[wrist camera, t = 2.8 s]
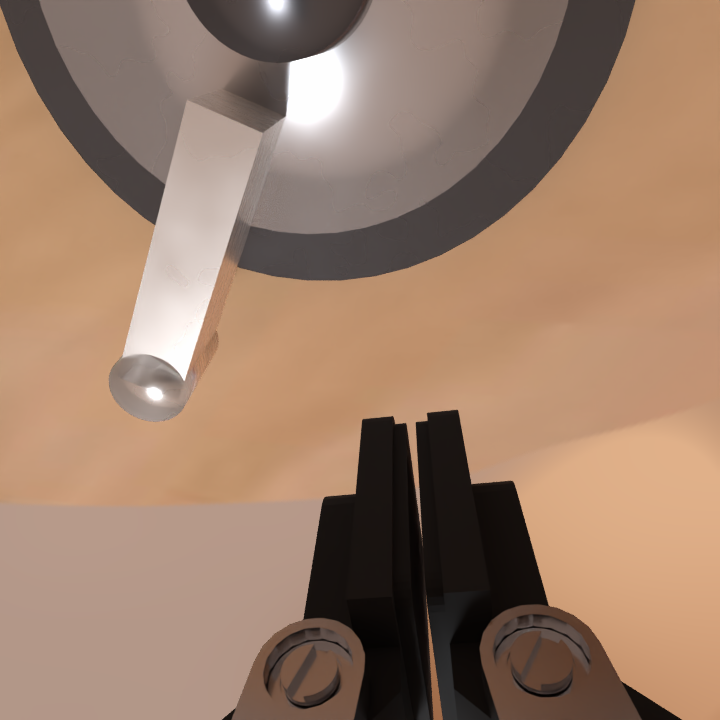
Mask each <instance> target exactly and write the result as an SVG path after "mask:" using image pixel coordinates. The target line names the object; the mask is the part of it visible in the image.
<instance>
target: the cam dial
mask: <svg viewBox="0 0 720 720" xmlns="http://www.w3.org/2000/svg"><path fill="white" fill-rule="evenodd" d="M39 1H40V5H41V8H42V11H43V14H44V16H45V19H46V21H47V24H48V27H49V29H50V32H51V34H52V37H53V40H54V42H55V45H56V47H57V49H58V51H59V53H60V55H61V57H62V59H63V61H64V63H65V65H66V67H67V69H68V71H69V73H70V75H71V77H72V79H73V81H74V82H75V84H76V85H77V87H78V88H79V90H80V91H81V93H82V95H83V96H84V98H85V99H86V101H87V102H88V104H89V106H90V107H91V109H92V110H93V112H94V113H95V114H96V115H97V117H98V118H99V119H100V121H101V122H102V123H103V124H104V126H105V127H106V128H107V129H108V131H109V132H110V133H111V134H112V136H113V137H114V138H115V139H116V140H117V141H118V142H119V143H120V144H121V145H122V146H123V147H124V148H125V149H126V150H127V151H128V153H129V154H130V155H131V156H132V157H133V158H134V159H135V160H136V161H137V162H138V163H139V164H140V165H142V166H143V167H144V168H145V169H147V170H148V171H149V172H150V173H152V174H153V175H154V176H155V177H157V178H158V179H159V180H160V181H161V182H163V183H164V184H165V189H164V193H163V197H162V201H161V205H160V209H159V213H158V217H157V221H156V225H155V229H154V233H153V237H152V241H151V245H150V249H149V253H148V257H147V261H146V265H145V269H144V273H143V277H142V281H141V285H140V289H139V293H138V297H137V301H136V305H135V309H134V313H133V317H132V321H131V325H130V329H129V333H128V337H127V341H126V345H125V349H124V353H123V355H122V357H121V358H120V359H119V360H118V361H117V362H116V363H115V365H114V366H113V367H112V369H111V372H110V375H109V387H110V391H111V393H112V396H113V397H114V399H115V401H116V402H117V403H118V404H119V406H120V407H121V408H123V409H124V410H125V411H126V412H128V413H129V414H131V415H133V416H134V417H137V418H139V419H142V420H146V421H153V422H159V421H165V420H169V419H171V418H173V417H175V416H176V415H178V414H179V413H180V412H181V411H182V409H183V408H184V406H185V404H186V403H187V401H188V399H189V398H190V396H191V394H192V392H193V391H194V389H195V387H196V386H197V384H198V382H199V380H200V379H201V377H202V375H203V374H204V372H205V370H206V368H207V367H208V365H209V363H210V361H211V360H212V358H213V356H214V355H215V353H216V351H217V348H218V342H219V341H218V334H217V331H216V329H217V326H218V323H219V320H220V317H221V314H222V311H223V308H224V305H225V302H226V299H227V296H228V293H229V290H230V287H231V284H232V281H233V278H234V275H235V272H236V269H237V266H238V263H239V260H240V257H241V254H242V251H243V248H244V245H245V242H246V239H247V236H248V233H249V230H250V227H251V226H254V227H258V228H263V229H268V230H272V231H277V232H288V233H300V234H321V233H339V232H344V231H350V230H355V229H361V228H366V227H370V226H373V225H376V224H379V223H382V222H385V221H388V220H392V219H395V218H397V217H399V216H401V215H403V214H406V213H408V212H410V211H412V210H414V209H416V208H418V207H421V206H423V205H424V204H426V203H427V202H429V201H431V200H432V199H434V198H435V197H437V196H439V195H440V194H442V193H443V192H445V191H446V190H448V189H450V188H451V187H452V186H453V185H454V184H456V183H457V182H458V181H459V180H461V179H462V178H463V177H464V176H465V175H467V174H468V173H469V172H470V171H472V170H473V169H474V168H475V167H476V166H477V165H478V164H479V163H480V162H481V161H482V160H483V159H484V158H485V157H486V156H487V154H488V153H489V152H490V151H491V150H492V149H493V148H494V147H495V146H496V145H497V144H498V143H499V142H500V140H501V139H502V138H503V136H504V135H505V134H506V132H507V131H508V130H509V128H510V127H511V126H512V124H513V123H514V122H515V120H516V119H517V118H518V116H519V115H520V113H521V112H522V110H523V108H524V107H525V105H526V103H527V101H528V100H529V98H530V96H531V95H532V93H533V91H534V89H535V88H536V86H537V84H538V83H539V81H540V78H541V76H542V74H543V72H544V69H545V67H546V65H547V62H548V60H549V58H550V56H551V53H552V51H553V49H554V47H555V44H556V41H557V37H558V34H559V31H560V28H561V25H562V22H563V18H564V15H565V12H566V9H567V5H568V0H39Z"/></svg>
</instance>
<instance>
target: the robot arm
mask: <svg viewBox="0 0 720 720" xmlns="http://www.w3.org/2000/svg"><path fill="white" fill-rule="evenodd" d="M427 417H428V421H423V422H416V436H417V453H418V470H419V488H420V503H421V522H422V535H421V529H420V521H419V513H418V506H417V500H416V499H417V498H416V491H415V483H414V476H413V469H412V461H411V454H410V446H409V439H408V431H407V425H406V423H403V424H395V421H394V417H393V416H391V417H381V418H371V419H363V420H362V429H361V440H360V452H359V463H358V474H357V486H356V494H352V495H340V496H328V497H325V498H324V499H323V503H322V508H321V514H320V520H319V526H318V532H317V539H316V545H315V551H314V557H313V564H312V570H311V576H310V582H309V588H308V594H307V601H306V607H305V613H304V619H303V620H302V621H299V622H296V623H293V624H290V625H288V626H287V627H285V628H283V629H282V630H280V631H279V632H277V633H275V634H274V635H273V636H272V638H270V639H269V640H268V641H267V642H266V643H265V644H264V645H263V647H262V649H261V650H260V652H259V654H258V656H257V657H256V659H255V661H254V663H253V666H252V668H251V671H250V673H249V676H248V679H247V681H246V684H245V686H244V689H243V691H242V694H241V696H240V699H239V702H238V704H237V707H236V708H235V709H234V710H233V711H232V712H231V713H229V714H228V715H227V716H226V717H225V718H223V719H222V720H433V705H432V688H431V673H430V672H431V671H430V654H429V638H428V620H427V606H428V614H429V621H430V629H431V636H432V643H433V650H434V657H435V665H436V672H437V679H438V687H439V694H440V701H441V708H442V716H443V720H681V719H680V718H678V717H677V716H675V715H674V714H672V713H670V712H669V711H667V710H666V709H664V708H662V707H661V706H659V705H658V704H656V703H655V702H653V701H652V700H650V699H648V698H647V697H645V696H644V695H642V694H640V693H639V692H637V691H636V690H634V689H632V688H631V687H629V686H628V685H626V684H625V683H623V682H622V681H621V680H620V678H619V676H618V675H617V673H616V671H615V669H614V667H613V665H612V663H611V661H610V660H609V658H608V656H607V654H606V652H605V650H604V648H603V647H602V645H601V643H600V641H599V640H598V639H597V637H596V636H595V634H594V633H593V632H592V630H591V629H590V628H589V627H588V626H587V625H586V624H584V623H583V622H582V621H581V620H579V619H578V618H577V617H575V616H574V615H572V614H570V613H567V612H565V611H563V610H561V609H558V608H555V607H550V606H549V605H548V602H547V598H546V594H545V591H544V587H543V583H542V580H541V576H540V573H539V569H538V566H537V562H536V559H535V555H534V551H533V548H532V544H531V541H530V537H529V534H528V530H527V527H526V523H525V519H524V516H523V512H522V509H521V505H520V501H519V498H518V494H517V491H516V488H515V485H514V482H513V481H504V482H492V483H480V484H471V479H470V474H469V468H468V463H467V457H466V451H465V446H464V440H463V435H462V429H461V424H460V418H459V413H458V410H451V411H441V412H431V413H427ZM422 537H423V538H422ZM422 539H423V544H422ZM426 597H427V602H426Z"/></svg>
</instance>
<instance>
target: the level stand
mask: <svg viewBox="0 0 720 720" xmlns="http://www.w3.org/2000/svg"><path fill="white" fill-rule="evenodd" d="M634 3H635V0H568V5H567V9H566V12H565V15H564V18H563V22H562V25H561V28H560V31H559V34H558V37H557V41H556V44H555V47H554V49H553V51H552V53H551V56H550V58H549V60H548V62H547V65H546V67H545V69H544V72H543V74H542V76H541V78H540V81H539V83H538V84H537V86H536V88H535V89H534V91H533V93H532V95H531V96H530V98H529V100H528V101H527V103H526V105H525V107H524V108H523V110H522V112H521V113H520V115H519V116H518V118H517V119H516V120H515V122H514V123H513V124H512V126H511V127H510V128H509V130H508V131H507V132H506V134H505V135H504V136H503V138H502V139H501V140H500V142H499V143H498V144H497V145H496V146H495V147H494V148H493V149H492V150H491V151H490V152H489V153H488V154H487V156H486V157H485V158H484V159H483V160H482V161H481V162H480V163H479V164H478V165H477V166H476V167H475V168H474V169H473V170H472V171H470V172H469V173H468V174H467V175H465V176H464V177H463V178H462V179H461V180H459V181H458V182H457V183H456V184H454V185H453V186H452V187H451V188H450V189H448V190H446V191H445V192H443V193H442V194H440V195H439V196H437V197H435V198H434V199H432V200H431V201H429V202H427V203H426V204H424V205H423V206H421V207H418V208H416V209H414V210H412V211H410V212H408V213H406V214H403V215H401V216H399V217H397V218H395V219H392V220H388V221H385V222H382V223H379V224H376V225H373V226H370V227H366V228H361V229H355V230H350V231H344V232H339V233H321V234H300V233H288V232H277V231H272V230H268V229H263V228H258V227H254V226H251V227H250V230H249V233H248V236H247V239H246V242H245V245H244V248H243V251H242V254H241V257H240V260H239V263H238V266H237V267H239V268H243V269H247V270H251V271H255V272H259V273H263V274H267V275H271V276H277V277H285V278H293V279H301V280H348V279H356V278H364V277H372V276H377V275H381V274H385V273H389V272H393V271H397V270H401V269H405V268H409V267H411V266H414V265H416V264H419V263H421V262H424V261H427V260H429V259H432V258H434V257H437V256H439V255H442V254H444V253H445V252H447V251H449V250H451V249H453V248H455V247H456V246H458V245H460V244H462V243H464V242H466V241H468V240H469V239H471V238H473V237H475V236H476V235H477V234H479V233H480V232H482V231H483V230H484V229H486V228H487V227H489V226H490V225H491V224H493V223H494V222H496V221H497V220H498V219H500V218H501V217H503V216H504V215H505V214H506V213H507V212H509V211H510V210H511V209H512V208H513V207H514V206H515V205H516V204H517V203H518V202H520V201H521V200H522V199H523V198H524V197H525V196H526V195H527V194H528V193H530V192H531V191H532V190H533V189H534V188H535V187H536V185H537V184H538V183H539V182H540V181H541V180H542V179H543V177H544V176H545V175H546V174H547V173H548V172H549V171H550V169H551V168H552V167H553V166H554V165H555V164H556V163H557V161H558V160H559V159H560V158H561V157H562V155H563V154H564V152H565V151H566V149H567V148H568V146H569V145H570V144H571V142H572V141H573V139H574V138H575V136H576V135H577V133H578V132H579V131H580V129H581V128H582V126H583V125H584V123H585V122H586V120H587V118H588V116H589V114H590V112H591V111H592V109H593V107H594V105H595V103H596V101H597V99H598V98H599V96H600V94H601V92H602V90H603V88H604V86H605V85H606V83H607V81H608V78H609V76H610V73H611V71H612V68H613V66H614V63H615V61H616V58H617V56H618V53H619V51H620V48H621V46H622V43H623V41H624V38H625V35H626V32H627V28H628V25H629V21H630V18H631V14H632V10H633V7H634ZM0 6H1V9H2V11H3V14H4V17H5V20H6V22H7V25H8V28H9V30H10V33H11V36H12V38H13V41H14V44H15V46H16V49H17V52H18V54H19V56H20V58H21V60H22V62H23V64H24V66H25V68H26V70H27V72H28V74H29V76H30V78H31V80H32V82H33V84H34V86H35V88H36V90H37V93H38V94H39V96H40V97H41V99H42V101H43V102H44V104H45V105H46V107H47V109H48V110H49V112H50V113H51V115H52V117H53V118H54V120H55V122H56V123H57V125H58V126H59V128H60V130H61V131H62V132H63V134H64V135H65V136H66V137H67V139H68V140H69V141H70V143H71V144H72V145H73V147H74V148H75V149H76V150H77V152H78V153H79V154H80V156H81V157H82V158H83V159H84V161H85V162H86V163H87V164H88V165H89V166H90V168H91V169H92V170H93V171H94V172H95V173H96V174H97V175H98V176H99V177H100V178H101V179H102V180H103V181H104V182H105V183H106V184H107V185H108V186H109V187H110V188H111V190H112V191H113V192H114V193H115V194H117V195H118V196H119V197H120V198H121V199H123V200H124V201H125V202H126V203H127V204H128V205H130V206H131V207H132V208H133V209H134V210H136V211H137V212H138V213H139V214H140V215H142V216H143V217H144V218H145V219H147V220H148V221H150V222H151V223H153V224H154V225H156V221H157V217H158V213H159V209H160V205H161V201H162V197H163V193H164V189H165V184H164V183H163V182H161V181H160V180H159V179H158V178H157V177H155V176H154V175H153V174H152V173H150V172H149V171H148V170H147V169H145V168H144V167H143V166H142V165H140V164H139V163H138V162H137V161H136V160H135V159H134V158H133V157H132V156H131V155H130V154H129V153H128V151H127V150H126V149H125V148H124V147H123V146H122V145H121V144H120V143H119V142H118V141H117V140H116V139H115V138H114V137H113V136H112V134H111V133H110V132H109V131H108V129H107V128H106V127H105V126H104V124H103V123H102V122H101V121H100V119H99V118H98V117H97V115H96V114H95V113H94V112H93V110H92V109H91V107H90V106H89V104H88V102H87V101H86V99H85V98H84V96H83V95H82V93H81V91H80V90H79V88H78V87H77V85H76V84H75V82H74V81H73V79H72V77H71V75H70V73H69V71H68V69H67V67H66V65H65V63H64V61H63V59H62V57H61V55H60V53H59V51H58V49H57V47H56V45H55V42H54V40H53V37H52V34H51V32H50V29H49V27H48V24H47V21H46V19H45V16H44V14H43V11H42V8H41V5H40V1H39V0H0Z"/></svg>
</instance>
